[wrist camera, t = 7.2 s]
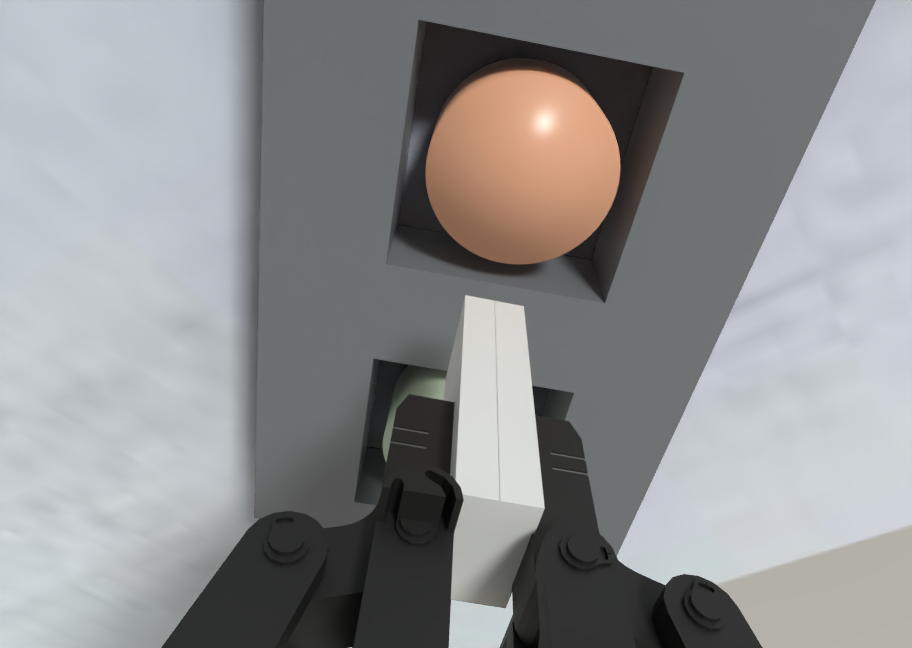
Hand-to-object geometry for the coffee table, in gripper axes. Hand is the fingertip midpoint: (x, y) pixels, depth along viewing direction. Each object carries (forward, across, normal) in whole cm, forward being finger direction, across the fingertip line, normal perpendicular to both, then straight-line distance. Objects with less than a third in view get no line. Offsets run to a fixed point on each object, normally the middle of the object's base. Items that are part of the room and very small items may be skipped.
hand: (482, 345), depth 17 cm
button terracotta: (+6, 0, +4) cm, 7 cm away
